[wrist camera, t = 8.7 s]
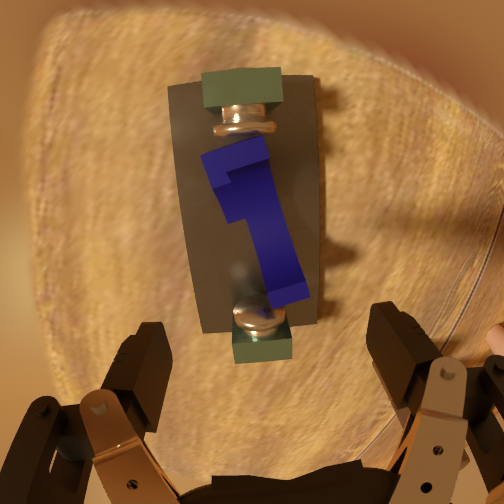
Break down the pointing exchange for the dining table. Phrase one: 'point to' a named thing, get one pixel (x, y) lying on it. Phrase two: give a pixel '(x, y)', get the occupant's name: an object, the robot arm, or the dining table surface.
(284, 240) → the blue curved bracket
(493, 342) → the smoothie
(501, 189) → the dining table surface
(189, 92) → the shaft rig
